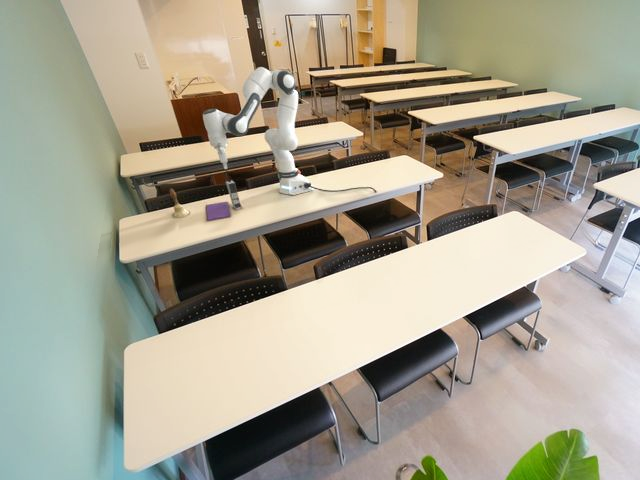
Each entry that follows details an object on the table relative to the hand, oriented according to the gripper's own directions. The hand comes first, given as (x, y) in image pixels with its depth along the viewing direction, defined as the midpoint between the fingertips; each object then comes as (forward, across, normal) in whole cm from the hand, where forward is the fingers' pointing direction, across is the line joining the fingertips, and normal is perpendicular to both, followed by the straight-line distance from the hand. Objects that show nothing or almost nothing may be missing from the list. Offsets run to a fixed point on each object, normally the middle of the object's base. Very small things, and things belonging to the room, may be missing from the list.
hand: (225, 166), depth 195 cm
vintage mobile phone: (+26, 0, 0) cm, 26 cm away
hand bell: (+27, +5, +31) cm, 41 cm away
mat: (+26, 0, +11) cm, 28 cm away
